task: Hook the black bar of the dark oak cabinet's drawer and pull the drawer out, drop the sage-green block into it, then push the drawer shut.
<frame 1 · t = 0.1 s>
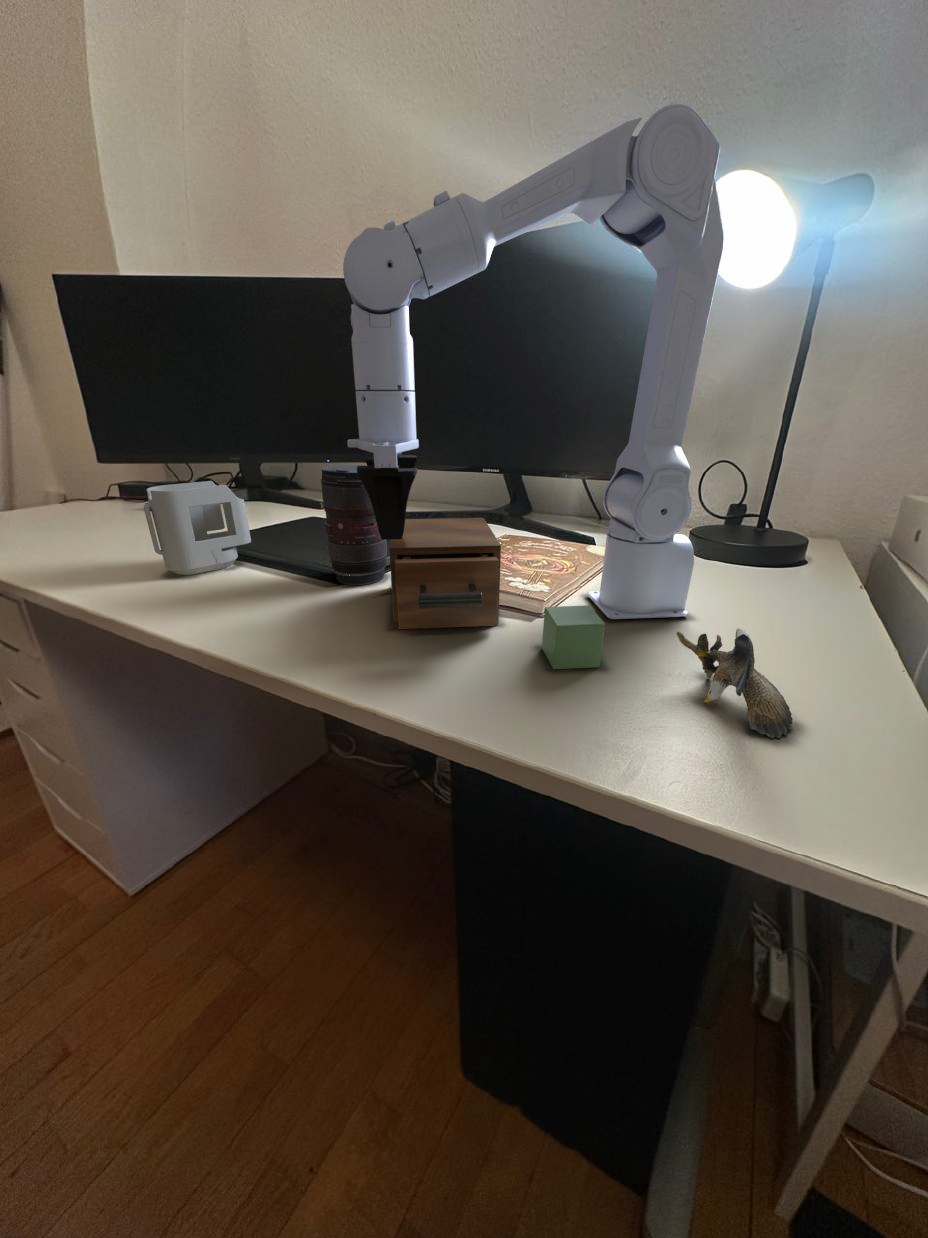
hand: (393, 529, 53), 10 cm above the table, tool pointing down, fingers open, 7 cm apart
drawer: (445, 582, 54), point 5 cm above the table, slide at 1.0 cm
block: (569, 657, 48), on the table
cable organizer: (214, 567, 74), on the table
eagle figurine: (730, 704, 41), on the table
cabinet: (443, 603, 61), on the table
camera lens: (361, 579, 70), on the table
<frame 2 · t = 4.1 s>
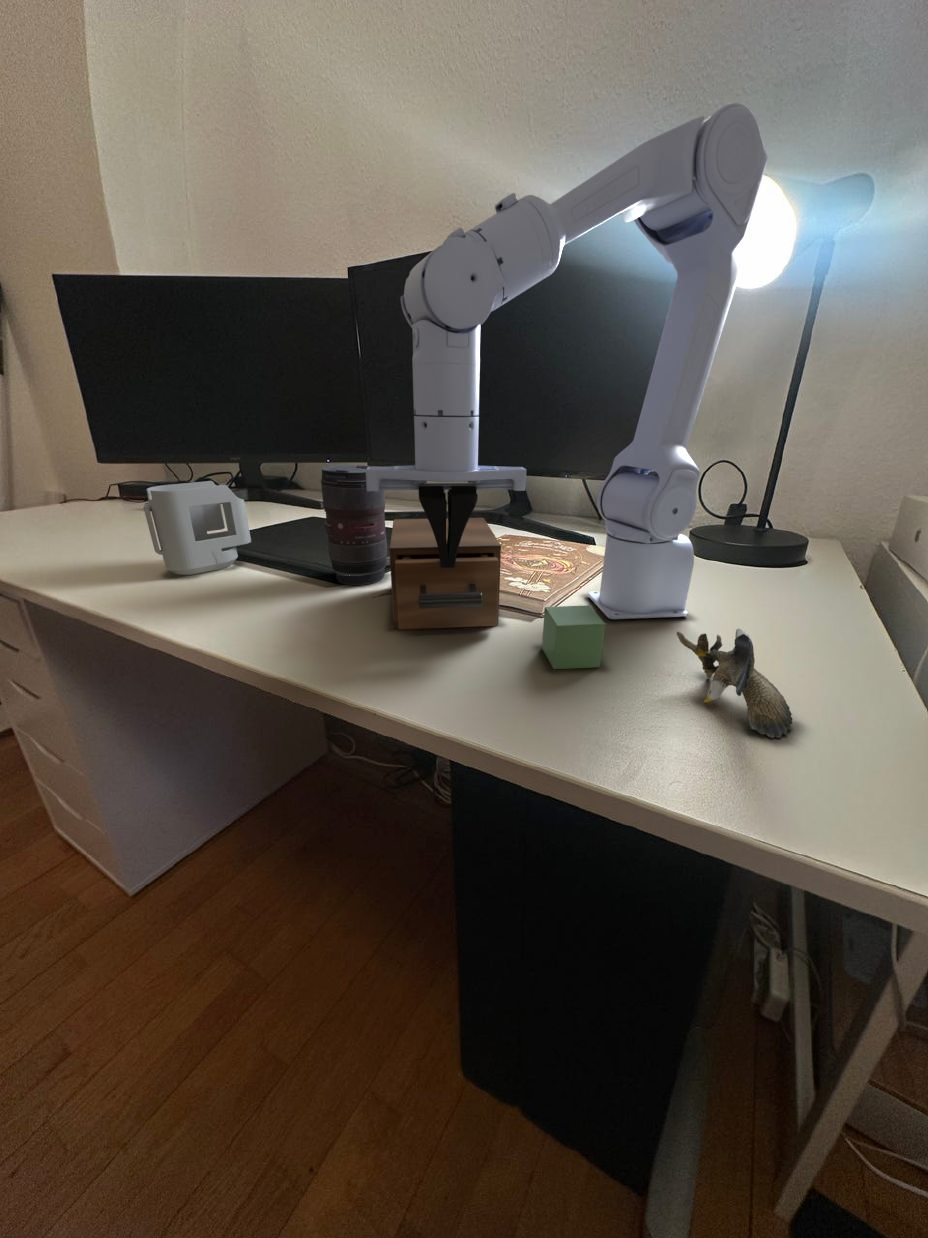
hand: (446, 564, 49), 8 cm above the table, tool pointing down, fingers closed, pressing on drawer
drawer: (445, 582, 54), point 5 cm above the table, slide at 1.1 cm, touching gripper
everything else where it was.
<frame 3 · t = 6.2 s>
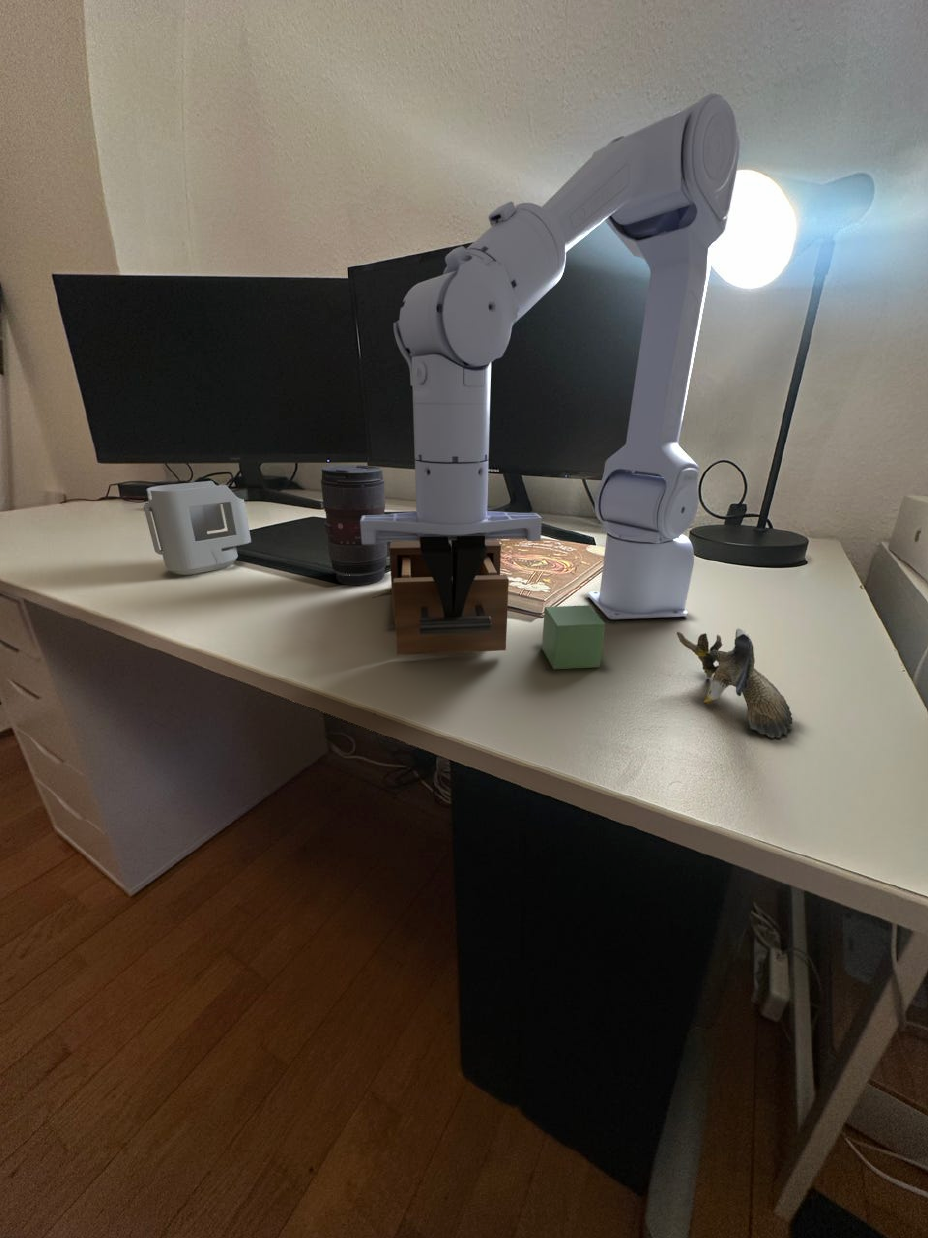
hand: (452, 620, 43), 5 cm above the table, tool pointing down, fingers closed, pressing on drawer
drawer: (448, 601, 49), point 5 cm above the table, slide at 6.8 cm, touching gripper
everything else where it was.
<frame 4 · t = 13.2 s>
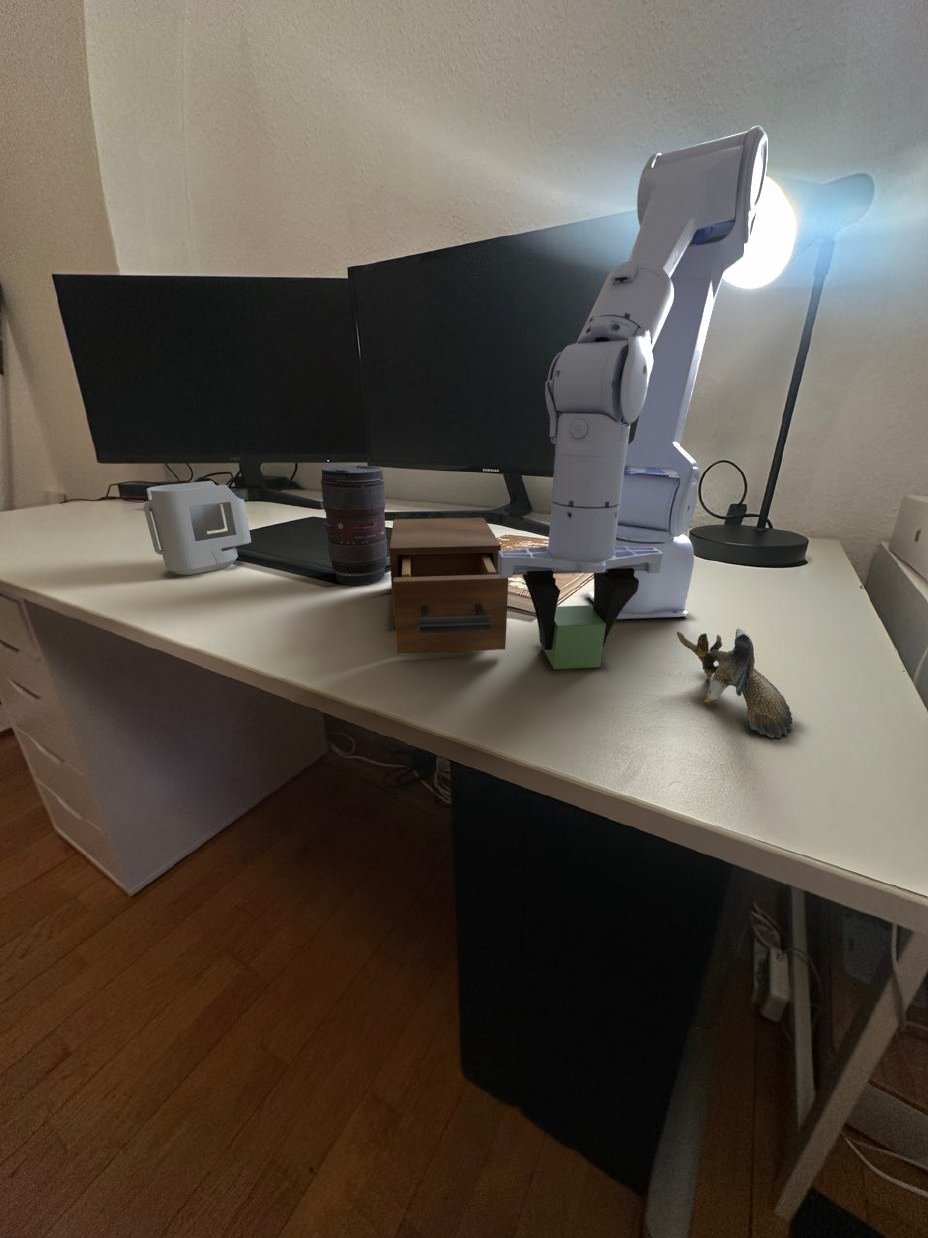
hand: (571, 644, 47), 1 cm above the table, tool pointing down, fingers closed on block, 4 cm apart
drawer: (448, 600, 49), point 5 cm above the table, slide at 6.6 cm
block: (570, 657, 48), on the table, touching gripper
everything else where it was.
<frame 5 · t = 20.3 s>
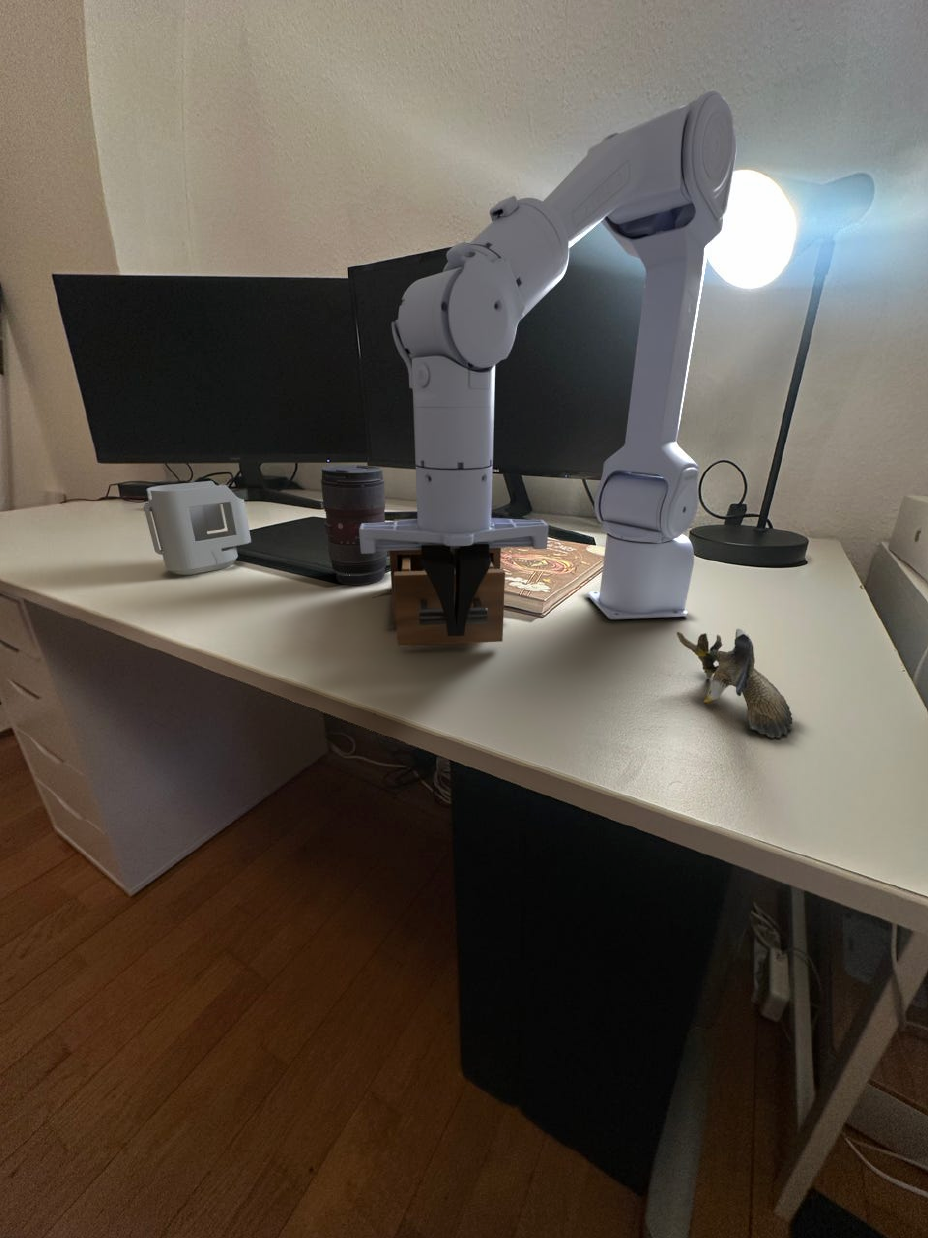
hand: (455, 631, 42), 5 cm above the table, tool pointing down, fingers closed, pressing on drawer
drawer: (447, 594, 51), point 5 cm above the table, slide at 4.9 cm, touching block, gripper
block: (445, 614, 52), point 2 cm above the table, touching drawer
everything else where it was.
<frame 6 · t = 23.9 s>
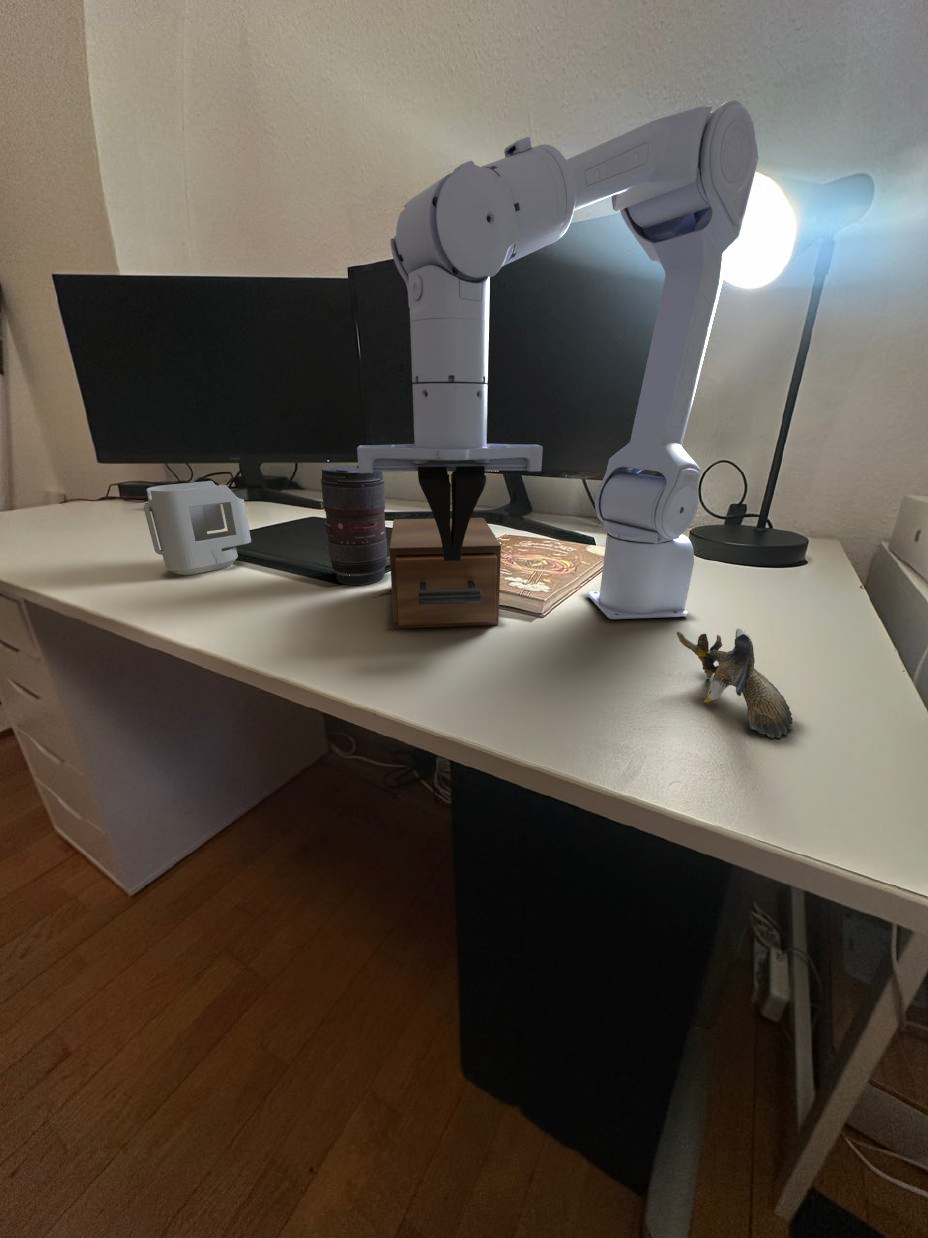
hand: (451, 557, 43), 10 cm above the table, tool pointing down, fingers closed
drawer: (444, 579, 55), point 5 cm above the table, slide at 0.0 cm, touching block
block: (442, 598, 57), point 2 cm above the table, touching drawer
everything else where it was.
at the end: drawer pulled out 6.8 cm at the most during the clip, back to where it started at the end; block inside the target area in the cabinet (3.2 cm from its centre), point 2.0 cm above the cabinet's base; drawer slide at 0.0 cm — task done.
